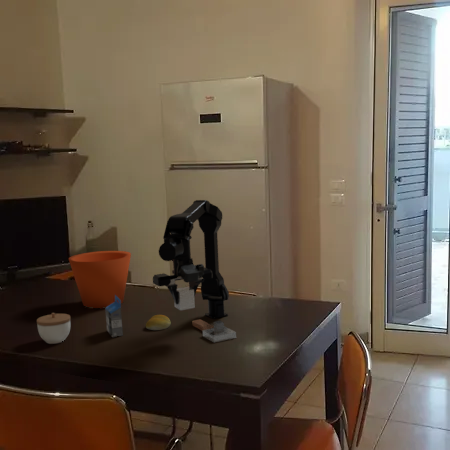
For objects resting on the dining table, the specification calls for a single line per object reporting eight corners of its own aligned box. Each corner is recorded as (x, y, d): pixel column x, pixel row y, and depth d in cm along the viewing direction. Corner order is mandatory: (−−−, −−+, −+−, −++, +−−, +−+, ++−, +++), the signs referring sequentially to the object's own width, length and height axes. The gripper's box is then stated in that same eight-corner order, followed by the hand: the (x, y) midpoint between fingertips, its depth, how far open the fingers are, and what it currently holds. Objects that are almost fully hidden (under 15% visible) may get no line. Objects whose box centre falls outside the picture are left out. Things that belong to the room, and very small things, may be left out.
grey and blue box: (106, 330, 202) (103, 295, 201) (117, 329, 204) (115, 294, 202) (111, 337, 194) (109, 301, 192) (123, 335, 195) (121, 299, 194)
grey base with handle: (186, 326, 203) (185, 312, 202) (206, 322, 206) (206, 308, 206) (214, 342, 184) (213, 327, 184) (236, 338, 188) (235, 323, 187)
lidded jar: (54, 347, 186) (51, 319, 185) (31, 343, 192) (29, 315, 191) (79, 338, 195) (76, 310, 194) (56, 334, 201) (54, 307, 200)
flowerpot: (146, 299, 244) (143, 252, 242) (104, 314, 223) (100, 263, 221) (102, 293, 258) (99, 249, 255) (59, 307, 237) (55, 259, 235)
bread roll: (143, 331, 200) (142, 319, 200) (151, 323, 209) (150, 312, 209) (166, 331, 199) (166, 319, 199) (173, 323, 208) (172, 312, 207)
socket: (174, 306, 190) (173, 288, 189) (188, 304, 192) (187, 286, 191) (180, 310, 185) (179, 291, 185) (194, 307, 188) (193, 289, 187)
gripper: (163, 262, 175) (166, 313, 177) (219, 255, 184) (221, 303, 186) (150, 257, 185) (153, 305, 187) (204, 250, 193) (206, 296, 195)
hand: (184, 302), depth 189 cm, fingers closed on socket, 5 cm apart
